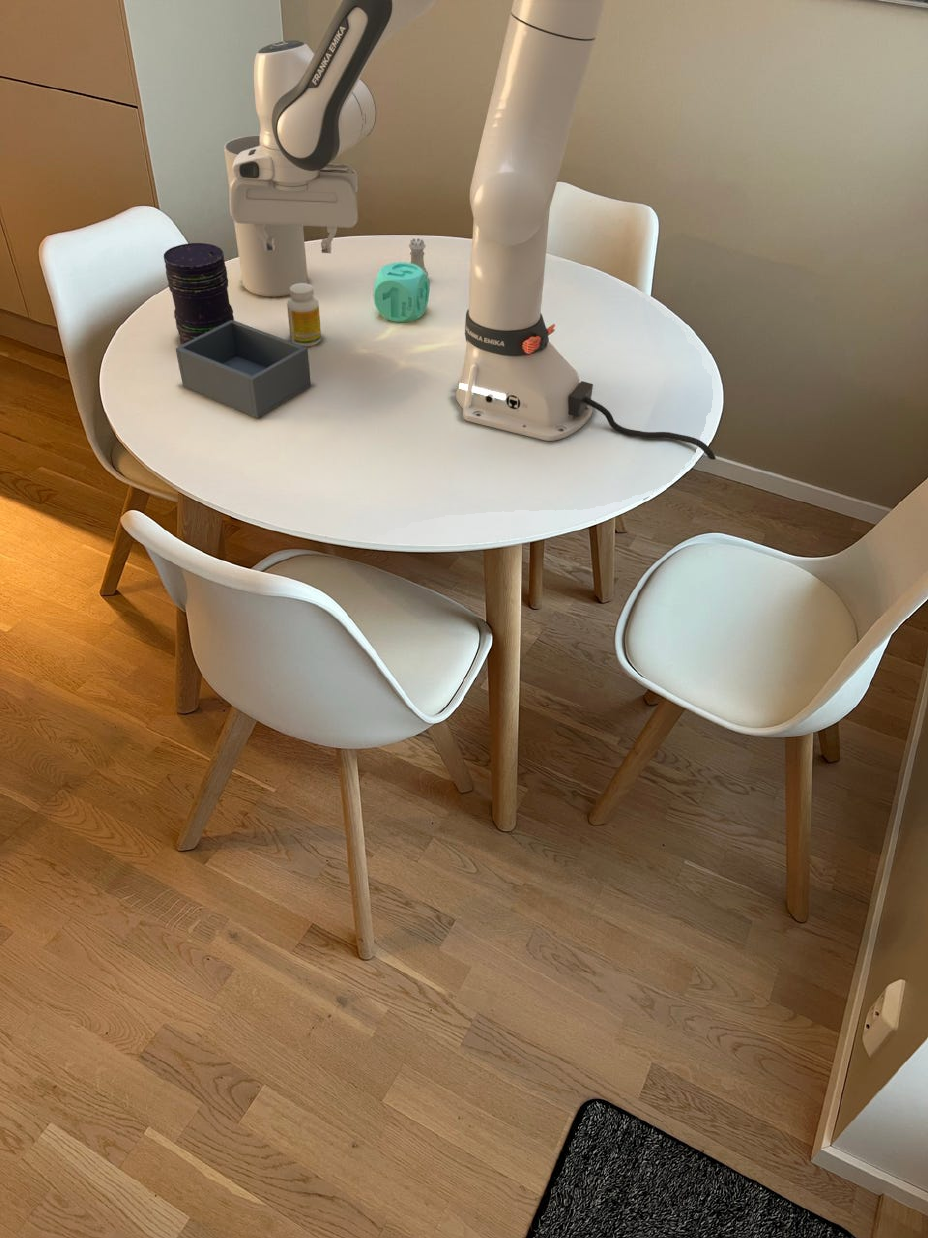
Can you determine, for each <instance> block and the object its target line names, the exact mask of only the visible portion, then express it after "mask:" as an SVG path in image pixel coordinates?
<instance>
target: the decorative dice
mask: <svg viewBox="0 0 928 1238" xmlns="http://www.w3.org/2000/svg"><path fill="white" fill-rule="evenodd" d="M430 288H431V287H430V279H429V275H428V276H427V274H426V273H425V272H424V271H423V269H422V268H420V267H419V266H417V265H415V264H411V262H401V261H400V262H392V263H391V262H390V263H387V264H386V265H383V266H382V267H381V268H380V269H379V270H378V273H377V275H376V276H375V281H374V287H373V303H374V306H375V309H376V310H377V312H378V313H379V314H380V315H381V316H382V317H383V318H385V320H388V321H390V322H395V323H411V322H415V321H417V320H419V319H420V318H422V317H423V315H424V314H425V312H426V310H427V307H428V304H429V298H430Z"/></svg>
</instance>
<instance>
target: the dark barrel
mask: <svg viewBox="0 0 928 1238" xmlns="http://www.w3.org/2000/svg"><path fill="white" fill-rule="evenodd" d="M163 261H164V264H165V265H164V266H165V275H166V279H167V286H168V288H169V291H170V292H171V294H172V300H173V305H174V306H173V307H174V310H173V318H174V319H175V327H176V330H177V332H178V333H177V334H178V335H179V342H180V345H182V344H184V343H186V342H188V341H190V340H192V339H194V338H196V337H198V336H200V335H202V334H204V333H206V332H208V331H210V330H212V329H214V328H216V327H218V326H220V325H222V324H224V323H226V322H228V321H230V320H234V321H235V317H234V310H233V307H232V305H231V304H230V296H229V290H228V287H229V278H228V270H227V266H226V262H225V253H224V251H223V248H221V247H220V246H218V245H216V244H211V243H207V242H205V243H204V242H189V243H183V244H178V245H176V246H173V247H170V248H168V249H167V250H166V251H165V252H164V254H163Z"/></svg>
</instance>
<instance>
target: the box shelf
mask: <svg viewBox="0 0 928 1238" xmlns="http://www.w3.org/2000/svg"><path fill="white" fill-rule="evenodd" d="M174 349H175V354H176V360H177V363H178V369H179V374H180V379H181V384H182V387H183V388H186V389H188V390H190V391H193V392H195V393H197V394H199V395H202V396H203V397H206V398H209V399H211V400H213V401H216V402H218V403H221V404H223V405H226V406H227V407H230V408H232V409H235V410H237V411H239V412H241V413H243V414H246V415H248V416H251V417H252V418H256V419H260V418H262V417H263V416H265V415H267V414H268V413H270V412H271V411H273V410H274V409H277V408H278V407H279V406H282V405H283V404H285V403H287V402H288V401H289V400H291V399H293V398H294V397H296V396H298V395H299V394H301V393H303V392H304V391H306V390H307V389H309V388H311V387H312V382H311V379H312V378H311V371H310V369H311V368H310V360H309V359H310V358H309V348H308V347H307V346H300V345H298V344H295V343H293V342H292V341H291V340H287V339H285V338H281V337H279V336H276V335H274V334H271V333H268V332H265V331H263V330H260V329H258V328H255V327H253V326H249V325H247V324H245V323H241V322H239V321H237V320H235V319H234V320H230V321H228V322H226V323H224V324H222V325H220V326H218V327H216V328H214V329H212V330H210V331H208V332H206V333H204V334H202V335H200V336H198V337H196V338H194V339H192V340H190V341H188V342H186V343H184V344H182V345H181V344H180V345H179V346H177V347H175V348H174Z"/></svg>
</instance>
